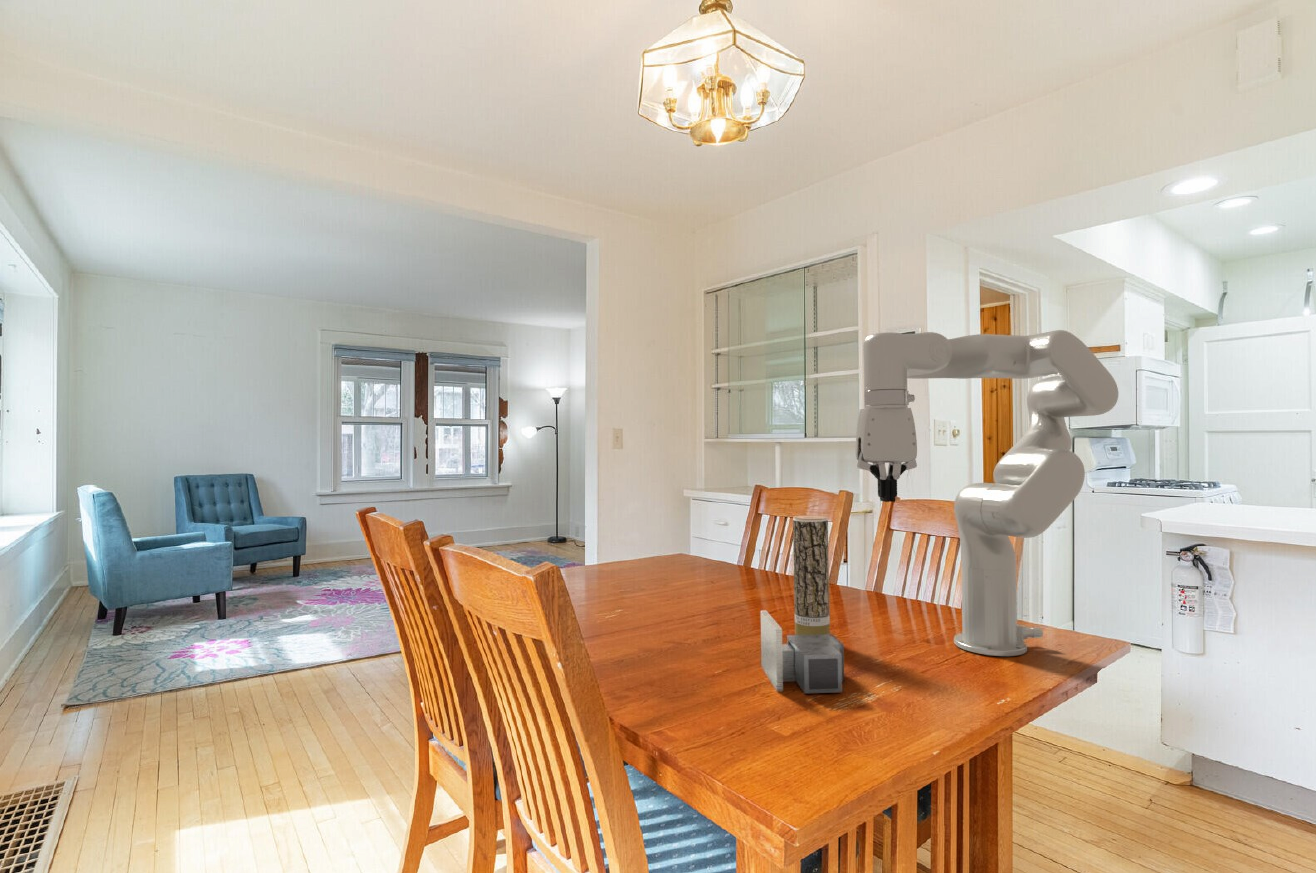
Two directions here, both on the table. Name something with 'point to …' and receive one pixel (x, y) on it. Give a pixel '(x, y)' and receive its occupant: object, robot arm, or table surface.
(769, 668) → the grey t-shaped bracket
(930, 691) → the table surface
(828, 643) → the elbow
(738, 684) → the table surface
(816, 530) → the paper tube
